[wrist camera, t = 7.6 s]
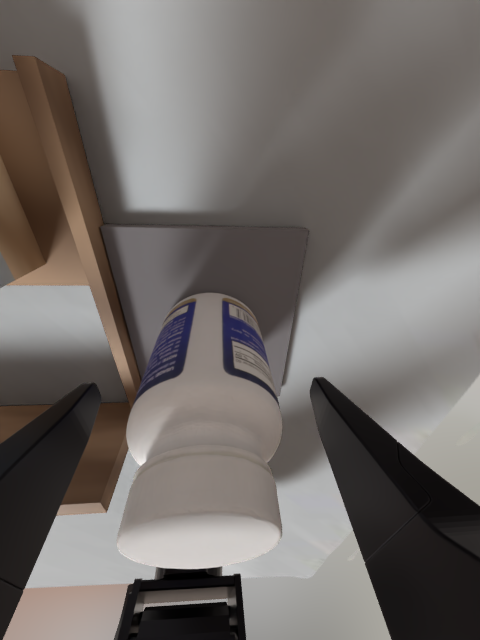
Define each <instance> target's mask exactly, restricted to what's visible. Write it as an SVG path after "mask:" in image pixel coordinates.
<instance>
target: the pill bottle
mask: <svg viewBox="0 0 480 640" xmlns="http://www.w3.org/2000/svg"><path fill="white" fill-rule="evenodd" d="M282 430H283V428H282V417H281V412H280V407H279V402H278V398H277V395H276V391H275V387H274V383H273V379H272V375H271V371H270V367H269V363H268V359H267V355H266V351H265V347H264V343H263V340H262V335H261V332H260V328H259V325H258V322H257V320H256V317H255V316H254V314H253V313H252V311H251V310H250V309H249V308H248V307H247V306H246V305H245V304H243V303H242V302H240V301H239V300H237V299H235V298H233V297H231V296H227V295H224V294H219V293H200V294H196V295H192V296H189V297H187V298H185V299H183V300H182V301H180V302H179V303H177V304H176V305H175V306H174V307H173V308H172V309H171V310H170V311H169V313H168V314H167V316H166V318H165V320H164V322H163V324H162V327H161V330H160V333H159V336H158V338H157V341H156V344H155V346H154V349H153V352H152V354H151V357H150V360H149V362H148V365H147V368H146V370H145V373H144V376H143V379H142V381H141V384H140V387H139V390H138V392H137V395H136V398H135V400H134V403H133V406H132V409H131V412H130V415H129V419H128V423H127V429H126V438H127V444H128V447H129V450H130V452H131V454H132V456H133V457H134V459H135V460H136V462H137V463H138V464H139V465H140V466H141V467H140V468H139V469H138V470H137V471H136V473H135V475H134V478H133V484H132V485H131V488H130V492H129V495H128V499H127V502H126V506H125V509H124V513H123V517H122V521H121V525H120V528H119V532H118V537H117V547H118V550H119V551H120V553H121V554H122V555H123V556H125V557H126V558H128V559H131V560H133V561H135V562H138V563H141V564H145V565H150V566H154V567H160V568H173V569H203V568H214V567H221V566H226V565H231V564H235V563H240V562H244V561H247V560H250V559H253V558H256V557H258V556H260V555H263V554H265V553H267V552H268V551H270V550H271V549H273V548H274V547H275V546H276V545H277V544H278V543H279V541H280V539H281V537H282V524H281V518H280V511H279V504H278V498H277V489H276V484H275V481H274V478H273V475H272V471H271V469H270V467H269V465H268V464H267V462H268V461H269V460H270V459H271V458H272V456H273V455H274V454H275V452H276V450H277V448H278V446H279V444H280V441H281V437H282Z"/></svg>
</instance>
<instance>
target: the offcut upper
mask: <svg viewBox="0 0 480 640" xmlns="http://www.w3.org/2000/svg"><path fill="white" fill-rule="evenodd" d="M13 281H15V279H14V277H13V275H12V273H11V271H10V269H9V267H8V265H7V263H6V261H5V260H4V258H3V256H2V254H1V252H0V288H1V287H3V286H5V285H7V284H9V283H11V282H13Z"/></svg>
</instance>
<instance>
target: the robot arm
mask: <svg viewBox="0 0 480 640" xmlns="http://www.w3.org/2000/svg"><path fill="white" fill-rule="evenodd" d="M310 397H311V402H312V406H313V410H314V414H315V419H316V423H317V427H318V431H319V434H320V437H321V440H322V442H323V445H324V448H325V451H326V454H327V457H328V460H329V462H330V465H331V468H332V471H333V474H334V477H335V479H336V482H337V485H338V488H339V491H340V494H341V497H342V499H343V502H344V505H345V508H346V511H347V514H348V516H349V519H350V522H351V525H352V528H353V531H354V533H355V536H356V539H357V542H358V545H359V548H360V551H361V553H362V556H363V559H364V561H365V562H366V563H365V565H366V568H367V571H368V574H369V576H370V579H371V582H372V585H373V588H374V591H375V593H376V597H377V599H378V602H379V605H380V607H381V611H382V613H383V616H384V619H385V622H386V625H387V628H388V631H389V634H390V636H391V639H392V640H480V506H479V505H478V504H476V503H475V502H473V501H472V500H471V499H470V498H468V497H467V496H466V495H464V494H463V493H462V492H460V491H459V490H458V489H456V488H455V487H454V486H453V485H451V484H450V483H449V482H447V481H446V480H445V479H443V478H442V477H441V476H439V475H438V474H437V473H436V472H434V471H433V470H432V469H430V468H429V467H428V466H427V465H425V464H424V463H423V462H422V461H420V460H419V459H418V458H417V457H416V456H414V455H413V454H412V453H411V452H410V451H408V450H407V449H406V448H405V447H404V446H403V445H402V444H400V443H399V442H397V440H396V439H394V438H393V437H392V436H391V435H390V434H389V433H388V432H386V431H385V430H384V429H383V428H382V427H381V426H379V425H378V424H377V423H376V422H375V421H374V420H373V419H371V418H370V417H369V416H368V415H367V414H366V413H364V412H363V411H362V410H361V409H360V408H359V407H358V406H356V405H355V404H354V403H353V402H352V401H351V400H349V399H348V398H347V397H346V396H345V395H344V394H343V393H341V392H340V391H339V390H338V389H337V388H336V387H334V386H333V385H332V384H331V383H330V382H329V381H327V380H326V379H325V378H323V377H315V378H314V379H313V381H312V385H311V388H310ZM100 403H101V395H100V392H99V390H98V388H97V385H96V384H95V383H83V384H81V385H80V386H79V387H77V388H76V389H74V390H73V391H72V392H70V393H69V394H68V395H66V396H65V397H64V398H62V399H61V400H59V401H58V402H57V403H55V404H54V405H53V406H51V407H50V408H48V409H47V410H46V411H44V412H43V413H42V414H40V415H39V416H38V417H36V418H35V419H33V420H32V421H31V422H29V423H28V424H27V425H25V426H24V427H22V428H21V429H20V430H18V431H17V432H16V433H14V434H13V435H12V436H10V437H9V438H7V439H6V440H5V441H3V442H2V443H1V444H0V640H3V637H4V635H5V632H6V630H7V628H8V626H9V623H10V621H11V619H12V617H13V614H14V612H15V610H16V607H17V605H18V602H19V600H20V598H21V596H22V594H23V590H24V588H25V586H26V584H27V581H28V579H29V577H30V575H31V572H32V570H33V568H34V565H35V563H36V561H37V558H38V556H39V554H40V552H41V549H42V547H43V545H44V542H45V540H46V538H47V535H48V533H49V531H50V528H51V526H52V524H53V522H54V519H55V517H56V515H57V512H58V510H59V508H60V505H61V503H62V501H63V498H64V496H65V494H66V492H67V489H68V487H69V485H70V482H71V480H72V478H73V475H74V473H75V471H76V469H77V466H78V464H79V462H80V459H81V457H82V455H83V452H84V450H85V448H86V445H87V443H88V441H89V438H90V435H91V432H92V429H93V426H94V422H95V419H96V416H97V413H98V410H99V407H100ZM226 598H228V605H227V603H226V602H217V603H202V604H188V605H172V606H157V607H146V608H145V609H144V611H143V605H144V604H149V603H164V602H180V601H194V600H210V599H226ZM114 640H246V633H245V622H244V610H243V598H242V587H241V575H240V574H234V575H232V576H222V566H221V567H214V568H203V569H173V568H160V567H156V573H155V579H154V580H142V579H135V581H134V584H130V585H129V586H128V589H127V593H126V598H125V602H124V606H123V610H122V614H121V618H120V622H119V625H118V628H117V631H116V635H115V638H114Z"/></svg>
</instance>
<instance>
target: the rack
mask: <svg viewBox="0 0 480 640" xmlns="http://www.w3.org/2000/svg"><path fill="white" fill-rule="evenodd" d="M12 57H13V60H14V63H15V66H16V69H17V71H10V70H0V156H1V158H2V161H3V163H4V165H5V168H6V170H7V172H8V175H9V177H10V180H11V182H12V184H13V187H14V189H15V191H16V194H17V196H18V198H19V201H20V203H21V206H22V208H23V210H24V213H25V215H26V217H27V220H28V222H29V225H30V227H31V229H32V232H33V234H34V236H35V239H36V241H37V244H38V246H39V248H40V251H41V253H42V255H43V258H44V260H45V263H46V264H45V265H43V266H41V267H39V268H38V269H36V270H34V271H32V272H30V273H28V274H26V275H24V276H22V277H20V278H18V279H17V280H15V281H13V282H11V283H9V284H7V285H89V286H90V289H91V292H92V295H93V298H94V300H95V303H96V306H97V309H98V312H99V315H100V318H101V321H102V324H103V327H104V330H105V333H106V336H107V339H108V342H109V345H110V348H111V351H112V354H113V357H114V360H115V363H116V366H117V369H118V372H119V375H120V378H121V381H122V384H123V387H124V390H125V392H126V395H127V398H128V401H129V402H123V403H100V407H99V410H98V413H97V416H96V419H95V422H94V426H93V429H92V432H91V435H90V438H89V441H88V443H87V445H86V448H85V450H84V452H83V455H82V457H81V459H80V462H79V464H78V466H77V469H76V471H75V473H74V475H73V478H72V480H71V482H70V485H69V487H68V489H67V492H66V494H65V496H64V498H63V501H62V503H61V505H60V508H59V510H58V512H57V515H56V516H59V515H75V514H91V513H107V510H108V507H109V504H110V501H111V499H112V496H113V493H114V490H115V487H116V484H117V481H118V478H119V475H120V472H121V469H122V466H123V463H124V460H125V457H126V454H127V451H128V449H129V447H128V444H127V438H126V429H127V423H128V419H129V415H130V412H131V409H132V406H133V403H134V400H135V398H136V395H137V392H138V390H139V387H140V384H141V381H142V379H141V375H140V372H139V368H138V364H137V361H136V357H135V353H134V350H133V346H132V342H131V339H130V335H129V331H128V328H127V324H126V320H125V316H124V313H123V309H122V305H121V302H120V298H119V294H118V291H117V287H116V283H115V280H114V276H113V272H112V269H111V265H110V261H109V258H108V254H107V250H106V246H105V243H104V239H103V235H102V232H101V228H100V227H101V226H103V225H104V223H103V219H102V215H101V212H100V208H99V204H98V200H97V196H96V192H95V189H94V185H93V181H92V177H91V173H90V170H89V166H88V162H87V158H86V154H85V150H84V147H83V143H82V139H81V135H80V131H79V128H78V124H77V120H76V116H75V112H74V109H73V105H72V101H71V97H70V93H69V89H68V86H67V82H66V78H65V75H64V74H62V73H61V72H59V71H57V70H56V69H54V68H52V67H51V66H49V65H47V64H46V63H44V62H43V61H41V60H39V59H38V58H36V57H33V56H18V55H12ZM51 406H53V405H25V406H0V444H1V443H2V442H3V441H5V440H6V439H7V438H9V437H10V436H12V435H13V434H14V433H16V432H17V431H18V430H20V429H21V428H22V427H24V426H25V425H27V424H28V423H29V422H31V421H32V420H33V419H35V418H36V417H38V416H39V415H40V414H42V413H43V412H44V411H46V410H47V409H48V408H50V407H51Z"/></svg>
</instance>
